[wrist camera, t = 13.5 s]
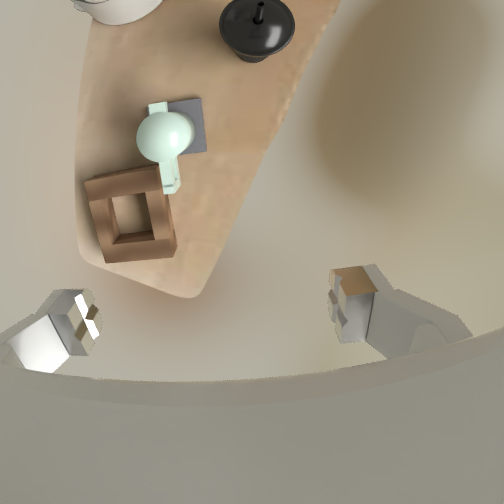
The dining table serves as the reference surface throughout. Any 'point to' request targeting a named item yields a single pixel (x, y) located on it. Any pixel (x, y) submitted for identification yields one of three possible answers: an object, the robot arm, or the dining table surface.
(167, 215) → the stand
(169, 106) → the mat
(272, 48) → the drinking cup
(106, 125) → the dining table surface
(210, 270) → the dining table surface
